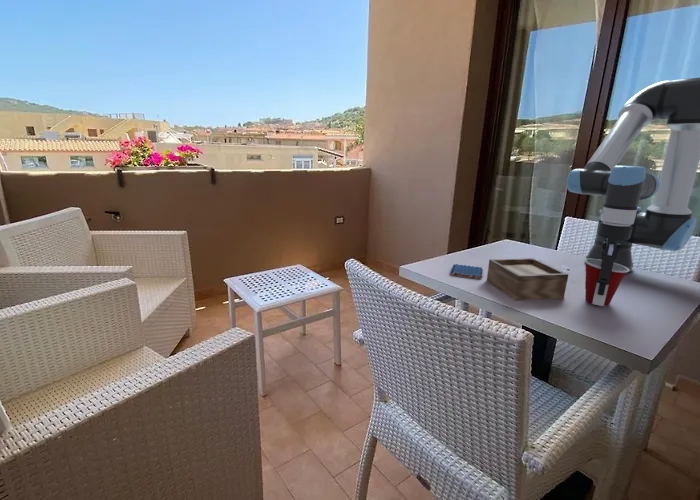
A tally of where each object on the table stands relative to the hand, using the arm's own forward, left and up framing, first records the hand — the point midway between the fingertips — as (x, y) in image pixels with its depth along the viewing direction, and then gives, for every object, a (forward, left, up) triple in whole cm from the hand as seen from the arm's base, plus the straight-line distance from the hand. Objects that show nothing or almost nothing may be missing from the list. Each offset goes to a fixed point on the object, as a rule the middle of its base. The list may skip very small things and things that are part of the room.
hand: (598, 299), depth 106 cm
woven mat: (+27, -28, -2) cm, 39 cm away
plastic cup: (0, 0, -1) cm, 1 cm away
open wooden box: (+16, -12, -1) cm, 20 cm away
